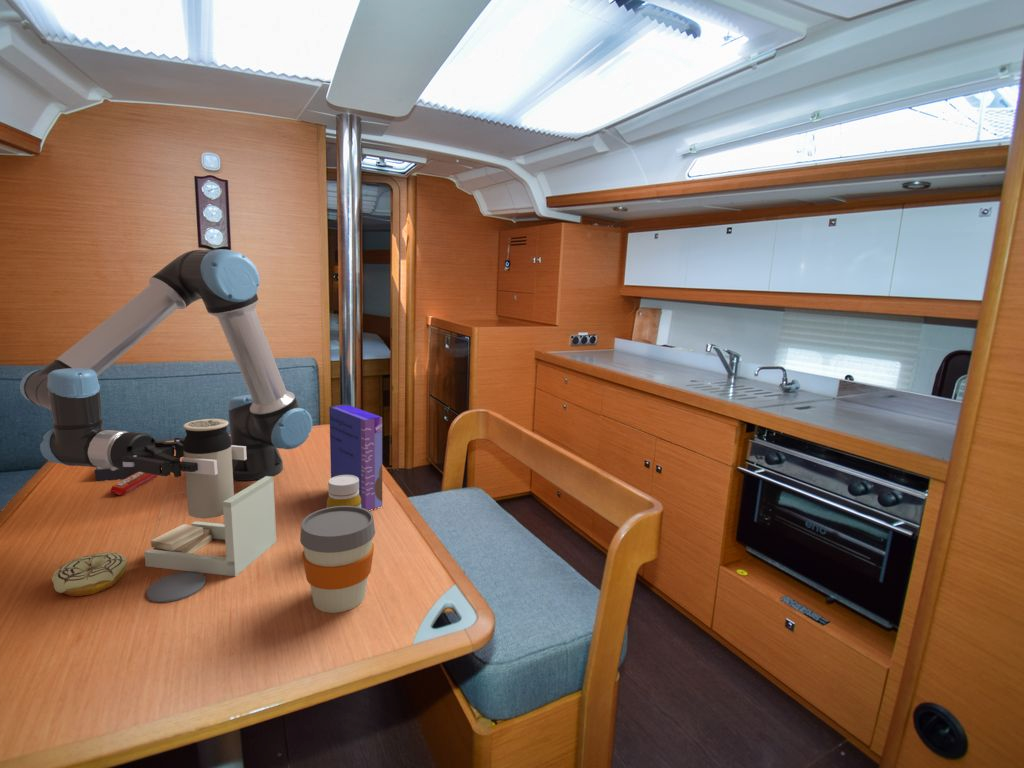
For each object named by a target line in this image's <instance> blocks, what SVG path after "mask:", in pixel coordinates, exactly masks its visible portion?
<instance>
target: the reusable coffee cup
mask: <svg viewBox="0 0 1024 768" xmlns="http://www.w3.org/2000/svg"><path fill="white" fill-rule="evenodd" d="M375 534H376V526H375V521H374V514H373V513H372V511H368V510H366V509H364V508H361V507H355V506H335V507H329V508H327V507H326V508H325V507H324V508H322V509H317V510H316V511H313V512H312V513H310V514H308V515H307V516H305V518H303V520H302V521H301V528H300V536H299V540H300V544H301V545H302V547H303V551H302V554H301V555H302V556H301V557H302V562H303V566H304V567H303V568H304V573H305V576H306V577H305V578H306V582H307V583H308V584H309V585H310V590H311V596H312V602H313V603H312V604H313V606H314V607H315V608H316V609H317V610H319V611H321V612H324V613H327V614H328V613H330V614H332V613H333V614H335V613H336V614H337V613H338V614H339V613H344V612H347V611H350V610H353V609H354V608H357V607H358V606H359V605H361V603H362V602H363V601H364V600H365V598H366V594H367V586H368V579H369V578H368V577H369V575H370V574H371V571H372V566H373V556H374V549H375V546H374V543H373V538H374V537H375Z"/></svg>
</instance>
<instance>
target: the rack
mask: <svg viewBox="0 0 1024 768" xmlns="http://www.w3.org/2000/svg"><path fill="white" fill-rule="evenodd" d="M274 485H275V484H274V476H265V477H264V478H262V479H258V480H257V481H255V482H254V483H252V484H250V485H249V486H248V487H246V488H244V489H241V490H240V491H239V492H237V493H234V496H232V497H230V498H229V499H227V500H225V501H224V502H223V511H224V515H223V523H218V522H215V523H214V522H207V521H206V522H205V521H196V520H194V522H191V523H190V525H191V526H197V527H202V528H203V529H210V535H212V540H214V539H215V540H223V541H225V556H216V555H215V556H214V555H209V554H207V555H206V554H198V553H193V554H190V553H181V552H171V551H162V550H153V548H151V549H150V548H149V549H147V550H146V551H144V553H143V554H144V562H145V564H144V565H145V567H149V568H157V569H158V568H159V569H166V570H176V571H182V572H199V573H201V574H211V575H217V576H218V575H220V576H228V577H236V576H238V575H239V574H241V572H242V571H244V570H245V569H246V568H247V567H249V566H250V565H251V564H252V563H253V562H255V561H256V560H257V559H258V558H259V557H260V556H262V555H263V554H264V553H265V552H266V551H268V550H269V549H270V548H271V547H273V546H274V545H275V544H277V532H276V531H277V529H276V528H277V527H276V526H277V525H276V507H275V491H274V490H275V486H274Z"/></svg>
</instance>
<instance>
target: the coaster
mask: <svg viewBox="0 0 1024 768" xmlns="http://www.w3.org/2000/svg"><path fill="white" fill-rule="evenodd" d="M205 585H206V576H205V575H204V573H200V572H191V571H181V572H177V573H172V574H169V575H166V576H164V577H162V578H159V579H157V580H156V581H154V582H153V583H151V584H150V585H149V587H148V588H147V589H146V598H147V600H149V601H150V602H151V601H152V602H154V603H171V602H176V601H181V600H183V599H184V600H185V599H186V598H189V597H190V596H193V595H195V594H197V593H199V591H201V590H202V589H203V588H204V587H205Z"/></svg>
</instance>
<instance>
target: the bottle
mask: <svg viewBox="0 0 1024 768" xmlns="http://www.w3.org/2000/svg"><path fill="white" fill-rule="evenodd" d="M327 482H328V483H327V484H328V497H327V500H326V508H329V507H335V506H355V507H361V497H360V495H359V478H358V477H356V476H353V475H339V476H335V477H332V478H331V477H330V478H329V479H328V481H327Z"/></svg>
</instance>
